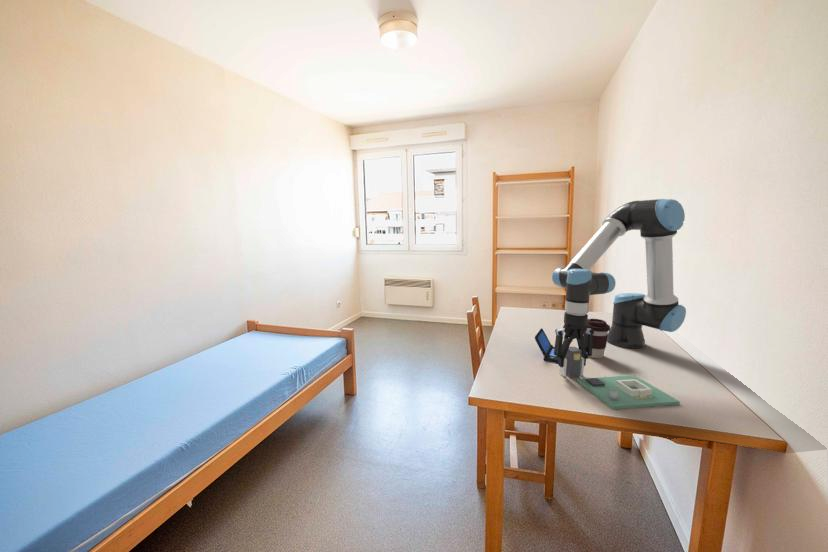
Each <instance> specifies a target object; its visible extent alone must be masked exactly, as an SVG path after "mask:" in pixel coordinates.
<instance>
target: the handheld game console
mask: <svg viewBox="0 0 828 552" xmlns="http://www.w3.org/2000/svg"><path fill="white" fill-rule="evenodd" d="M534 339H535V342H536V345H537V346H538V348H539V350H540V352H541V354H542V355H543V361H547V362H552V363H559V358H558V357H556V356H555V355H554V348H555V346H553V344H551V341H550V340H549V338H548V336H547V334H546V333H545V330H544V329H543V328H540V329H539V331H538V332H537V333H536V334H535V336H534Z"/></svg>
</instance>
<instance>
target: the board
mask: <svg viewBox="0 0 828 552" xmlns="http://www.w3.org/2000/svg"><path fill="white" fill-rule="evenodd" d="M630 379H636V380H637V381H639V382H641V383H642V384H644V385H646V386H648V387H649V388H651V389H652V395H647V396H644V397H639V396H633V397H631V396H630V395H628V394H627V393H625V392H624V391H622V390H621V389H619V388H618V387H616V386H615V385H616V380H630ZM576 382H577V383H578V384H580V385H581V386H582V387H584V388H585V389H586V390H587V391H589V392H590V393H591V394H592V395H594V396H595V397H597V399H599V400H600V401H602V402H603V403H604V404H606V406H608V407H609V408H611V410H624V409H626V410H627V409H637V407H639V408H649V407H650V406H653V407H664V406H665V405H666V406H679V405H680V404H681V403H680V402H681V401H680V400H678V399H676V398H675V397H673V396H671V395H670V394H667V393H666V392H664V391H663V390H661V389H659V388H658V387H656V386H654V385H653V384H651V383H648V382H647V381H645V380H644V379H642V378H640V377H638V376H636V375H633V374H632V375H621V376H620V375H617V376H602V377H601V376H599V377H586V378H577V379H576ZM628 387H630V388H631V389H638V388H637V387H635V386H628ZM666 406H665V407H666ZM650 408H651V407H650Z"/></svg>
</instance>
